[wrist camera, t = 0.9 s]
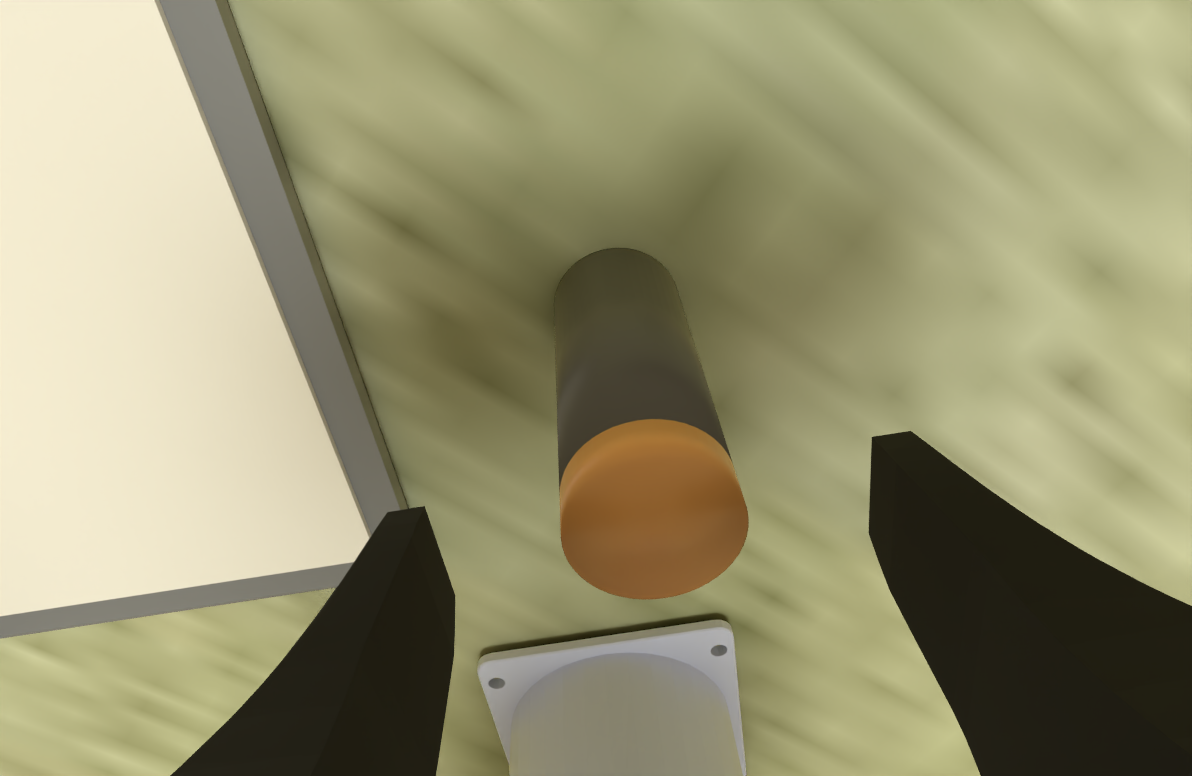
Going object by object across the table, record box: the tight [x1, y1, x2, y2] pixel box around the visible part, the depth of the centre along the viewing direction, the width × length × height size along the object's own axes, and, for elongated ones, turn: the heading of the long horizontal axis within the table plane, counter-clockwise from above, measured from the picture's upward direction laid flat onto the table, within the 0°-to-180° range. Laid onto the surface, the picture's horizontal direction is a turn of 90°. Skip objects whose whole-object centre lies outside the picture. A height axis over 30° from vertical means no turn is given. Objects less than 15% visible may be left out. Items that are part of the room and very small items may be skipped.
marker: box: [554, 248, 748, 599], centre depth 17 cm, size 3×3×8 cm
